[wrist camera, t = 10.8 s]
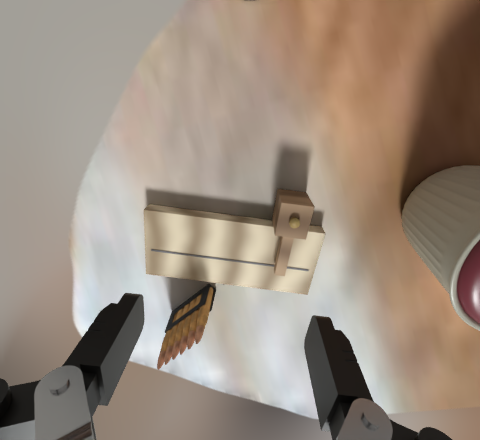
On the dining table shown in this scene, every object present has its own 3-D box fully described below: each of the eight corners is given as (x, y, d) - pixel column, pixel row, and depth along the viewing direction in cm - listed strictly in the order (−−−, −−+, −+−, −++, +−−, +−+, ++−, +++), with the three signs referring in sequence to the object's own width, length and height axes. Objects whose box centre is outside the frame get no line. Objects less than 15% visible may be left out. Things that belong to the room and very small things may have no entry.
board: (151, 265, 47) (145, 274, 45) (149, 204, 42) (143, 210, 40) (304, 285, 47) (307, 295, 45) (321, 226, 42) (325, 234, 40)
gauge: (277, 188, 40) (282, 204, 34) (306, 192, 40) (315, 208, 34) (264, 257, 45) (266, 281, 39) (289, 260, 45) (295, 284, 39)
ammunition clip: (209, 283, 48) (196, 337, 37) (216, 289, 49) (205, 344, 38) (171, 312, 52) (149, 368, 41) (178, 317, 52) (158, 374, 41)
